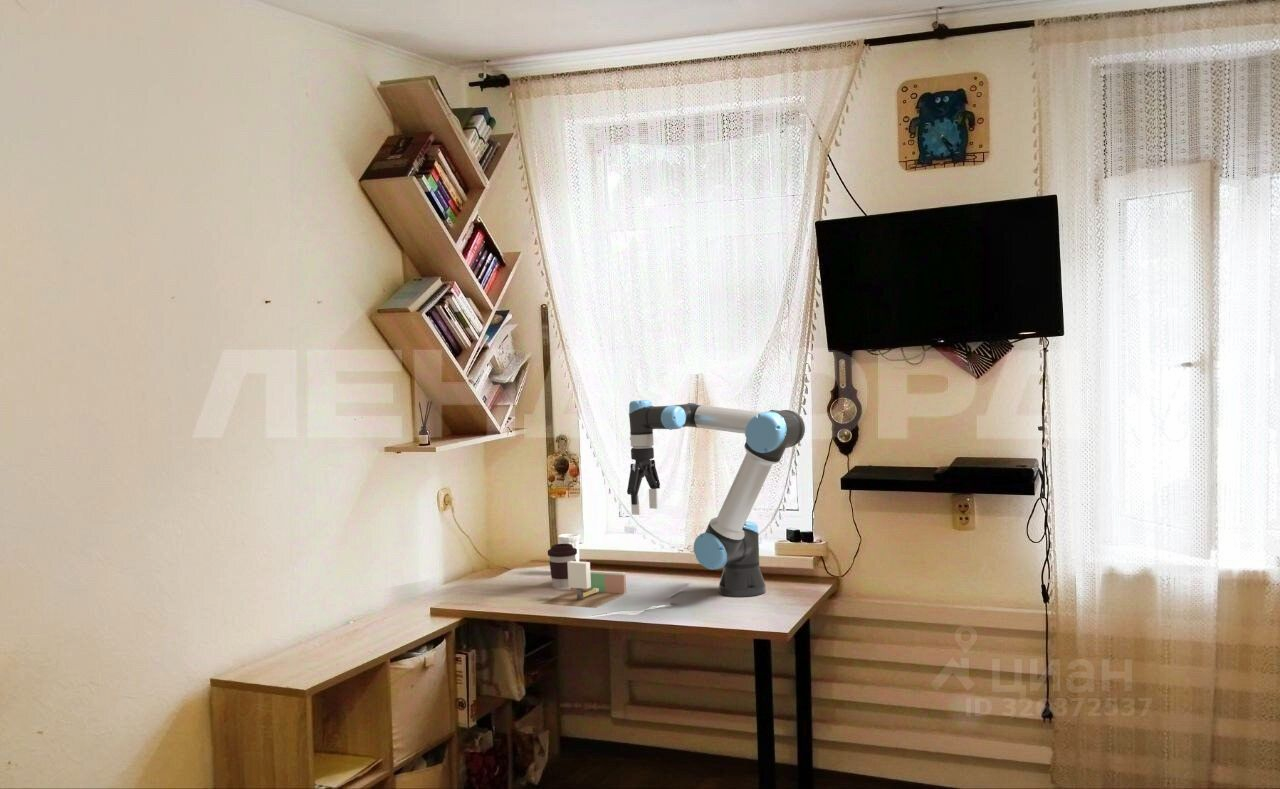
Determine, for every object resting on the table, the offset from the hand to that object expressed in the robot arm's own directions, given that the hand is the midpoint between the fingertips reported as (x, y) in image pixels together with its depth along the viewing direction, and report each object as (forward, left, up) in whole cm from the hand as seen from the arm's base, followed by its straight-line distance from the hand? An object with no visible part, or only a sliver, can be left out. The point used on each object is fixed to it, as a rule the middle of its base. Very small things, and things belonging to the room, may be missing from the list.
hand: (645, 511), depth 335 cm
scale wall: (+14, +9, -25) cm, 30 cm away
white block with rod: (+14, +17, -25) cm, 33 cm away
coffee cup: (+30, +4, -27) cm, 40 cm away
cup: (+40, -18, -27) cm, 52 cm away
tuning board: (+14, +18, -27) cm, 35 cm away
